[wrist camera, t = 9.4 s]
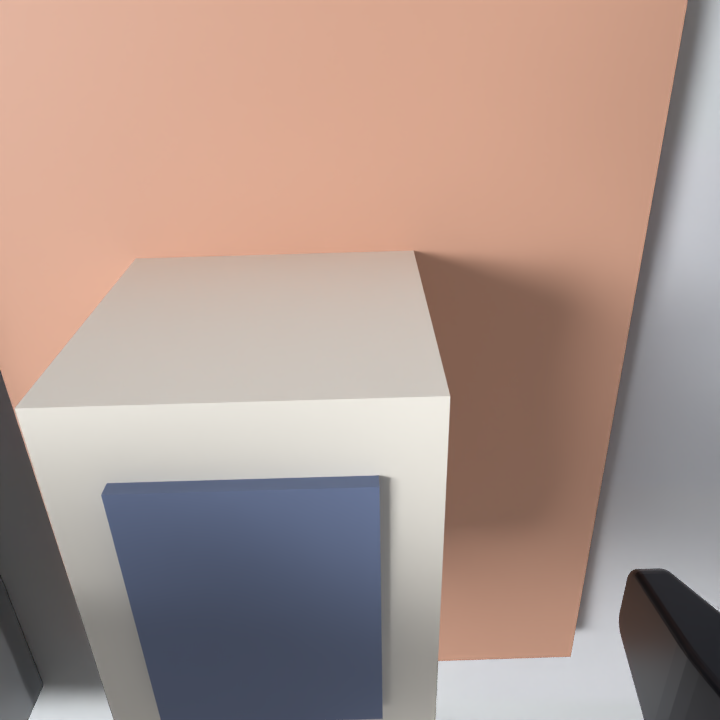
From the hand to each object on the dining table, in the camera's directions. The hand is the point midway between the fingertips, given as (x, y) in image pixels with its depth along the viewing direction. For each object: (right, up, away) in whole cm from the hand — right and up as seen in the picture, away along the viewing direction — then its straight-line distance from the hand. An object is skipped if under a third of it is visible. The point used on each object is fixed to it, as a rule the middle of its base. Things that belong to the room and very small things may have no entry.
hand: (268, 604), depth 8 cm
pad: (0, +2, +5) cm, 5 cm away
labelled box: (0, +2, +4) cm, 5 cm away
